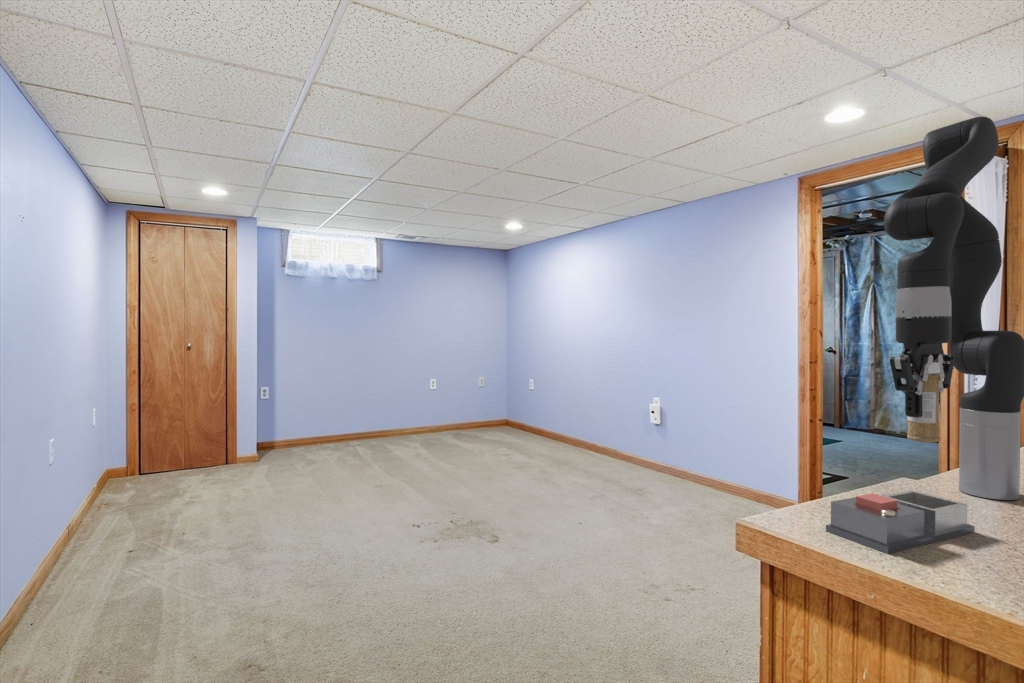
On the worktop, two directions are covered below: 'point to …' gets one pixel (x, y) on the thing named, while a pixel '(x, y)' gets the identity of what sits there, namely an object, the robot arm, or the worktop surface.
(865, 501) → the button
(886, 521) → the grey push button box
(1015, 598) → the worktop surface
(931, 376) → the sprinkles bottle
